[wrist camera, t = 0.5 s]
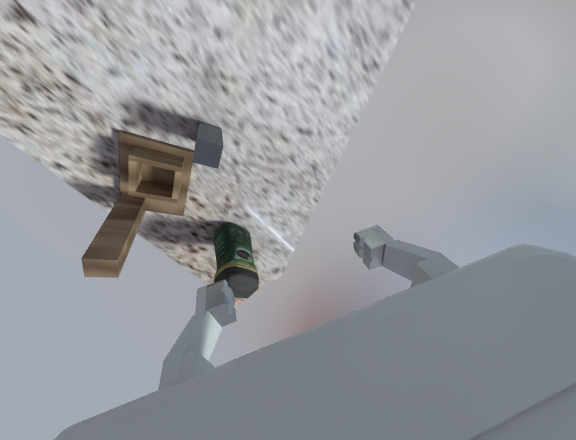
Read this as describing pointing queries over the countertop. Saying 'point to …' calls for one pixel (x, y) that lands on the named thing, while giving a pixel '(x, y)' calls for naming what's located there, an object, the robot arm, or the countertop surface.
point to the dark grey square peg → (208, 145)
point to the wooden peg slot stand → (139, 198)
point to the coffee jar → (235, 260)
